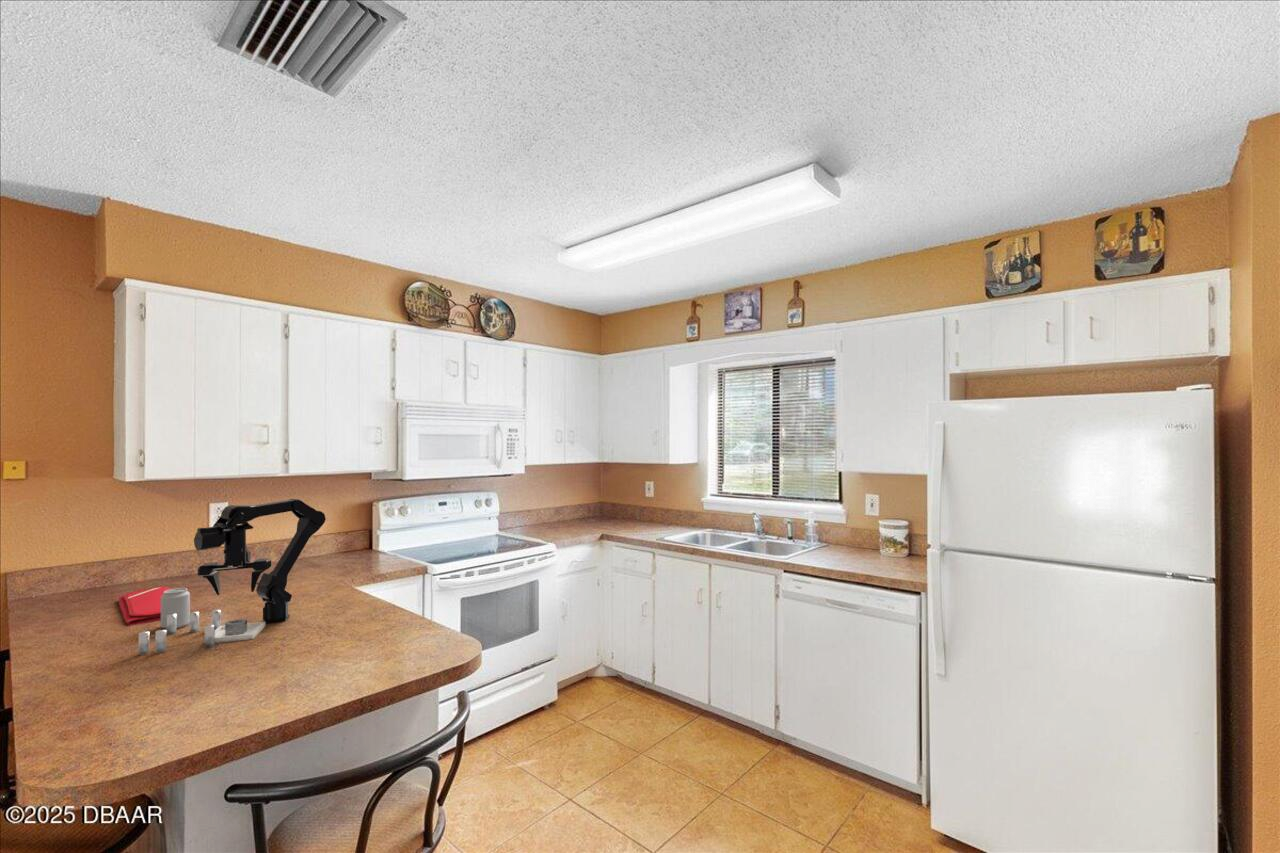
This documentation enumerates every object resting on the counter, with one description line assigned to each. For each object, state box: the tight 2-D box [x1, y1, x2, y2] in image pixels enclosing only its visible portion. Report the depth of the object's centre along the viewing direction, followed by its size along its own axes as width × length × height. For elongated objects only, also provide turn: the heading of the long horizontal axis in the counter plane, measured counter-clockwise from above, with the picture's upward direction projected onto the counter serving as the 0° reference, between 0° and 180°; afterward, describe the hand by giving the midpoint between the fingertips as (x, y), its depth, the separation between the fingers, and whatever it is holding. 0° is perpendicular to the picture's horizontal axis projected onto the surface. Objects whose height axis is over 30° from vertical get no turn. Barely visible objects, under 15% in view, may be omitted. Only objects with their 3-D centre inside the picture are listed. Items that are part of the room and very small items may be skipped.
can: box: [160, 587, 191, 630], centre depth 190 cm, size 8×8×12 cm
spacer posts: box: [138, 609, 222, 656], centre depth 177 cm, size 18×20×6 cm
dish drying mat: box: [118, 586, 171, 627], centre depth 211 cm, size 16×41×4 cm, turn 45°
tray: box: [203, 621, 266, 645], centre depth 181 cm, size 13×13×2 cm
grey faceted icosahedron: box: [224, 618, 248, 636], centre depth 181 cm, size 5×6×4 cm
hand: (235, 593), depth 185 cm, fingers open, 9 cm apart
